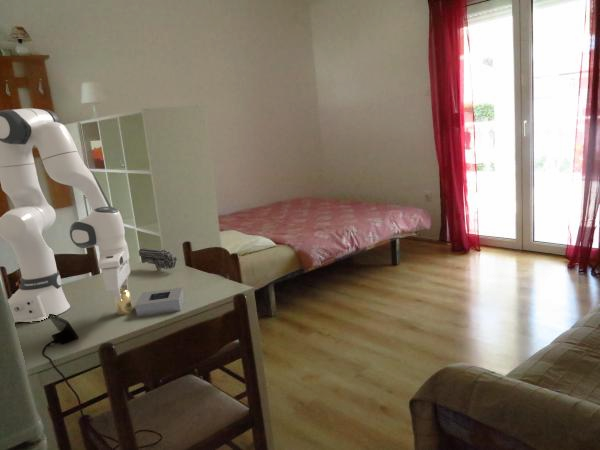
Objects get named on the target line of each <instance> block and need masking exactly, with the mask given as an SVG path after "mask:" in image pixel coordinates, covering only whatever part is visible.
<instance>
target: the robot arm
mask: <svg viewBox="0 0 600 450" xmlns="http://www.w3.org/2000/svg"><path fill="white" fill-rule="evenodd" d="M34 147H36V148H37V150H38V154H39V156H40V159H41V162H42V164H43V167H44V169H45V172H46V174H47V175H48V176H49V178H50V179H52V180H53V181H54V182H56V183H59V184H62V185H64V186H65V185H66V186H70V187H74V188H75V189H77V190H79V191H81V192H82V194H83V195H84V197H85V199H86V200H87V203H88V204H89V206H90V208H91V210H92V212H91V213H90V214H89V215H87V216H85V217H83V218H80V219H78V220H76V221H74V222H73V223H72V224H71V225H70V228H69V237H70V240H71V242H72V243H73V245H75V246H76V247H77V248H80V249H87V248H88V249H89V248H92V247H94V246H95V247H97V248H98V253H99V259H98V263H97V264H98V269H99V270H101V276H102V277H101V278H102V281H103V284H104V288H105V290H106V292H107V293H112V295H113V297H114V296H115V298H114V301H115V300H116V301H120V300H121V299H122V295H121V294H120V289H128V290H129V285H128V282H129V281H128V280H129V279H128V278H129V275H130V274H131V265H130V261H129V259H130V253H129V247H128V242H127V241H126V237H125V233H126V231H125V224H124V221H123V217H122V214H121V213H120V210H119V209H118V208H116V207H114V206H111V204H110V202H109V200H108V198H107V196H106V194H105V192H104V190H103V188H102V187H101V185H100V183H99V181H98V179H97V177H96V175H95V174H94V173H93V172H92V170H90V169H89V168H88V167H87V166H86V164H85V163H84V161H83V159H82V157H81V156H80V153H79V151H78V148H77V146H76V142H75V141H74V139H73V137H72V135H71V133H70V131H69V130H68V128H67V126H66V125H64V124H63V123H61V120H60V117H59V116H58V115H57V113H55V112H54V111H52V110H49V109H46V108H32V107H31V108H29V107H28V108H27V107H24V108H17V109H15V108H14V109H4V110H0V186H1V187H0V188H1V189H2V192H4V193H5V194H6V195H7V196H8V197H9V198H10V201H11V202H12V204H13V206H14V208H12V209H10V210H7V211H6V212H5V213H4V214H3V215H2V216H1V215H0V237H1V238H2V239H3V240H4V241H6V242H7V243H8V244H9V245H10V247H11V248H12V250H13V251H14V254H15V256H16V258H17V261H18V266H19V270H20V273H21V276H20V278H19V279H17V281H16V282H15V284H16V285H15V286H16V287H17V286H18V289H17V290H16V291H15V292H14V293H13V294H12V295H11V296H10V298H8V299H7V301H8V303H9V306H10V309H11V312H12V315H13V318H14V321H24V322H30V323H33V322H32V321H40V322H42V321H41V320H43V321H45V320H47V319H49V318H48V316H49V314H54V315H56V316H58V315H60V314H62V313H65V312H67V311H68V310H69V309H70V308H71V304H70V303H69V302H68V300H67V297H66V295H65V293H64V290H63V288H62V278H61V275H60V270H58V268H57V263H56V259H55V254H54V250H53V249H52V248H51V247H49V246H48V244H47V243H46V241H45V240H44V237H43V233H45V232H46V231H47V230H49V229H50V228H51V227H52V226H53V225H54V223H55V221H56V220H57V219H56V218H57V213H56V210H55V209H54V207H53V206H51V205H50V204H49V203H48V201H47V199H46V197H45V195H44V193H43V190H42V189H41V188H42V187H41V185H40V182H39V178H38V177H39V176H38V173H37V168H36V164H35V159H34V155H33V148H34ZM46 318H47V319H46ZM44 319H45V320H44Z"/></svg>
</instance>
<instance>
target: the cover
mask: <svg viewBox="0 0 600 450" xmlns="http://www.w3.org/2000/svg"><path fill="white" fill-rule="evenodd" d="M120 294H121V295H122V299H121V300H120V301H116V300H115V296H114V295H113V297H114V302H115V303H114V304H115V309H116V313H117V315H119V316H126V315H129V314H131V313H133V312H134V308H133V303H132V297H131V291H130V290H129V288H128V289H122V288H120Z"/></svg>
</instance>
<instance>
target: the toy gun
mask: <svg viewBox="0 0 600 450" xmlns="http://www.w3.org/2000/svg"><path fill="white" fill-rule="evenodd" d="M138 256H139V257H140V259H141V263H142V264H145V263H147V264H151V265H155V268H156V270H157V271H160V270H162V269H164V270H168V269H169V270H171V269H174V268H175V266H176V265H177V261H178V258H177V256H176V255H174V254H173V253H171V251H170V250H168V249H167V248H164V249H162V248H161V249H160V248H148V247H141V248H139V250H138Z"/></svg>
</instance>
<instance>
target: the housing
mask: <svg viewBox="0 0 600 450" xmlns="http://www.w3.org/2000/svg"><path fill="white" fill-rule="evenodd" d="M184 300H185V296H184V290H183V287H175V288H168V289H167V288H166V289H162V290H160V289H159V290H154V291H146V292H145V291H144V292H141V293H140V295H139V297H138V299H137V301H136V303H135V304H134V307H135V312H136V317H137V318H139V317H145V316H146V317H147V316H155V315H159V314H160V315H161V314H168V313H169V314H170V313H174V312H181V310H182V307H183V303H184Z"/></svg>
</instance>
